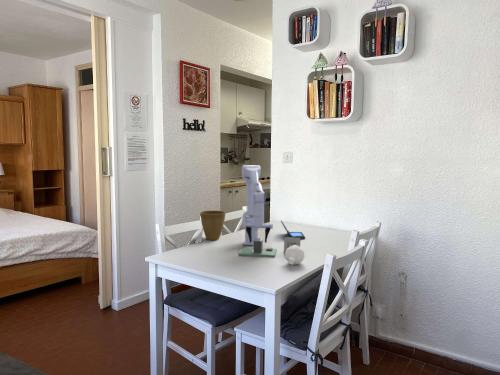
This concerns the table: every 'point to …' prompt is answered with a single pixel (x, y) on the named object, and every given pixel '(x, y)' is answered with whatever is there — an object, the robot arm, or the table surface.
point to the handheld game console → (294, 233)
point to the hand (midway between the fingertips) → (258, 241)
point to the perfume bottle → (294, 255)
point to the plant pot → (212, 223)
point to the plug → (258, 245)
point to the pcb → (265, 253)
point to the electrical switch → (291, 242)
